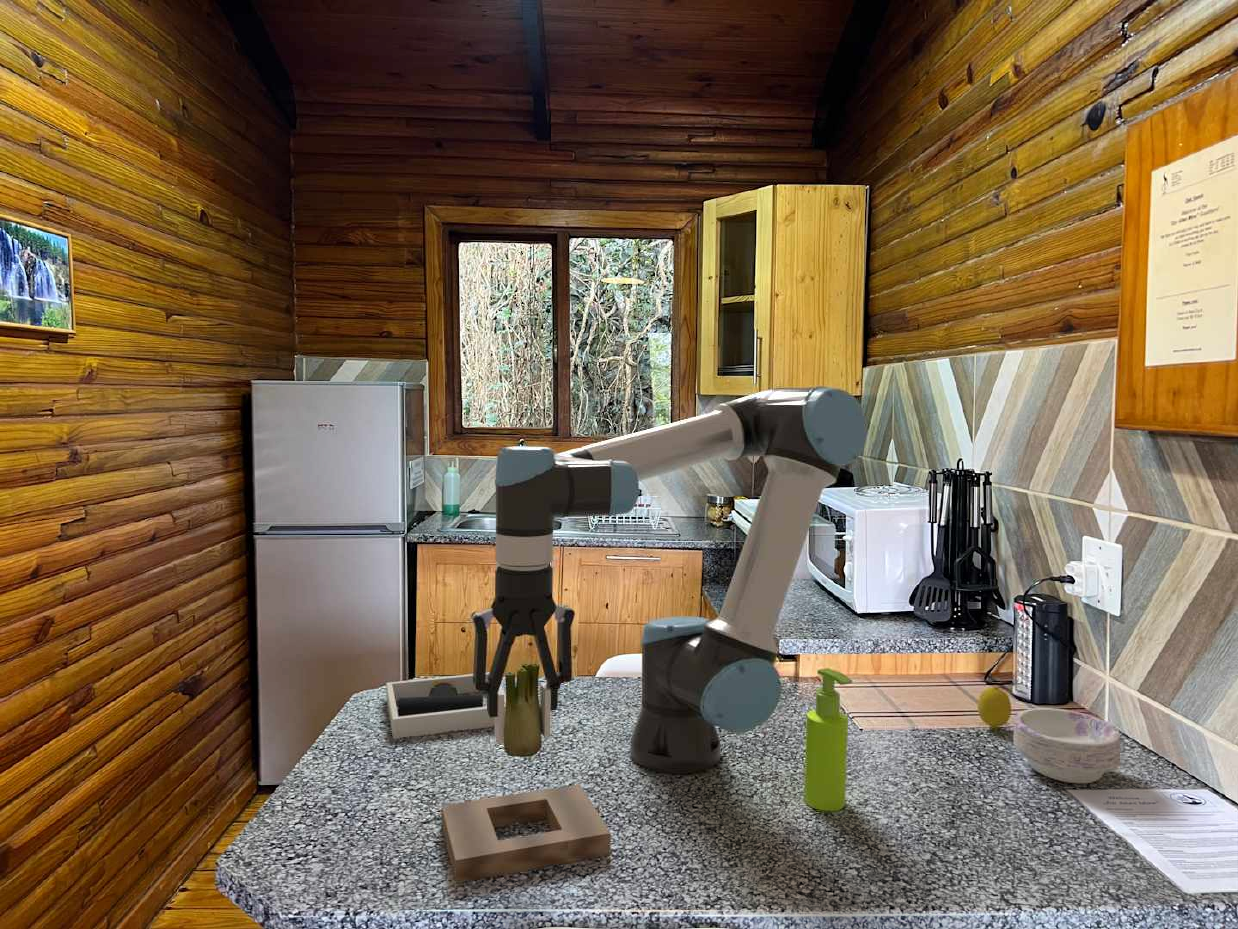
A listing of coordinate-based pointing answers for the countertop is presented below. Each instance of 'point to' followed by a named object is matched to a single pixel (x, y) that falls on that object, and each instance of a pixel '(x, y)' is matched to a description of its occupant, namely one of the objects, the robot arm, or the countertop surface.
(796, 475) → the robot arm
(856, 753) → the countertop surface
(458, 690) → the parts tray
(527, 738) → the fennel bulb
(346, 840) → the countertop surface
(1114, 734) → the paper bowls
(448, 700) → the pipe connector
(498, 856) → the jig block
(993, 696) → the lemon
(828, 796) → the soap dispenser
